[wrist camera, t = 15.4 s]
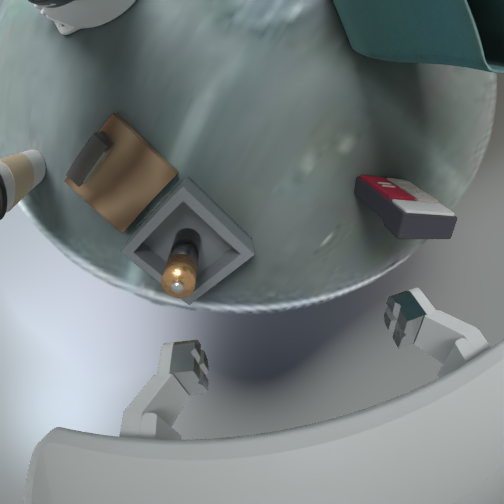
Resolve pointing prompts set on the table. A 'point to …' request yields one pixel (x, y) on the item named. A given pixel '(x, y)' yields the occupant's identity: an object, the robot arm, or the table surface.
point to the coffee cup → (19, 177)
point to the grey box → (405, 208)
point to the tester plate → (119, 173)
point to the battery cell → (182, 264)
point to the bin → (201, 220)
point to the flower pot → (427, 31)
